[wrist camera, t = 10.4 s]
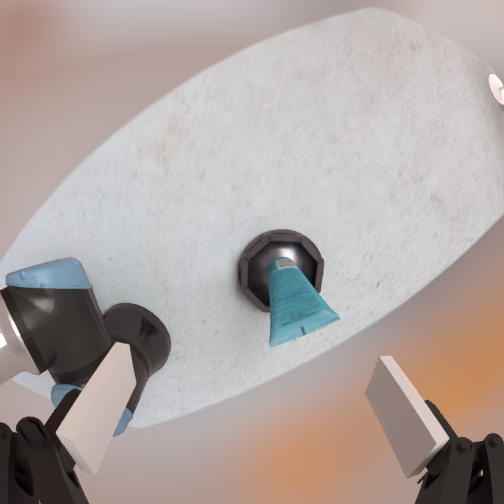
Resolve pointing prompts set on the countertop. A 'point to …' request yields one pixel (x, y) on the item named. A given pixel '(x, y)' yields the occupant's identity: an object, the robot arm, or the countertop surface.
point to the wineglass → (496, 88)
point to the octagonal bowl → (271, 248)
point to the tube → (294, 303)
